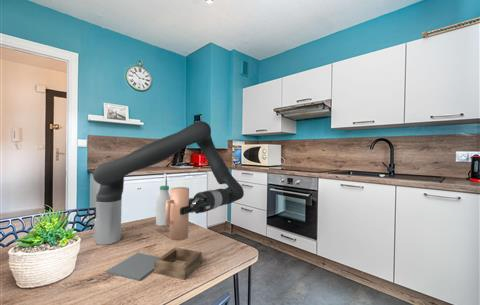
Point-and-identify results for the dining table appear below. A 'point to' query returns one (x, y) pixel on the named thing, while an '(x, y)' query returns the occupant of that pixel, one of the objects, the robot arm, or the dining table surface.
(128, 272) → the charcoal mat
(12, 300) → the dining table surface
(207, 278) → the dining table surface
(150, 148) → the robot arm
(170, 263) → the walnut collar
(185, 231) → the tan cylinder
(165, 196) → the milk bottle
